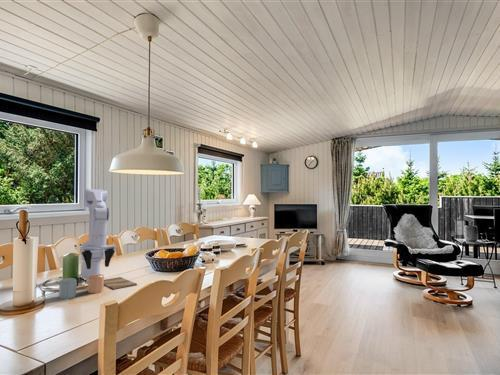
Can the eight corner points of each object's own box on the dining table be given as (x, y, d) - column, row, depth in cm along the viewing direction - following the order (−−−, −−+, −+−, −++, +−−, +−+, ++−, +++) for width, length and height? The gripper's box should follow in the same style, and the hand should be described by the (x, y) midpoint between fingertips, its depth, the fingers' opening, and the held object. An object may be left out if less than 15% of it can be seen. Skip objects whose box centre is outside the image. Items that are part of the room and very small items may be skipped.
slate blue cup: (57, 296, 125) (58, 279, 126) (72, 293, 130) (73, 277, 130) (62, 299, 122) (63, 282, 122) (77, 296, 126) (78, 280, 126)
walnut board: (97, 282, 147) (97, 280, 147) (120, 278, 156) (120, 276, 156) (113, 289, 137) (113, 288, 137) (137, 285, 145) (137, 283, 145)
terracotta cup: (86, 290, 134) (86, 275, 134) (99, 288, 138) (100, 273, 138) (91, 294, 130) (92, 277, 130) (105, 291, 134) (106, 275, 134)
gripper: (85, 236, 128) (83, 270, 126) (120, 235, 139) (118, 266, 137) (78, 236, 132) (76, 268, 131) (112, 234, 143) (111, 264, 142)
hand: (97, 267), depth 134 cm, fingers open, 7 cm apart
